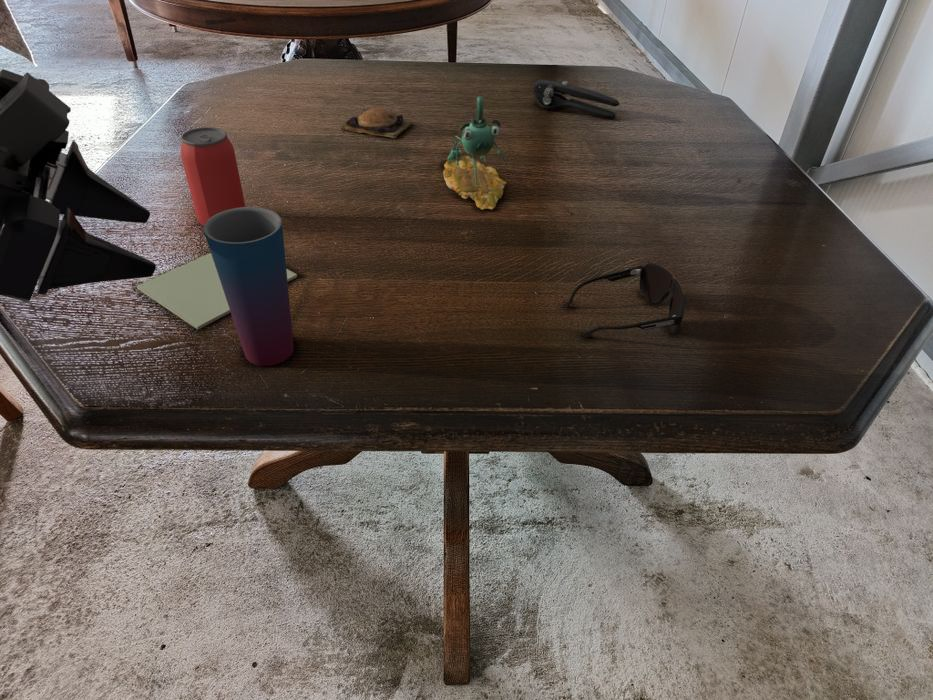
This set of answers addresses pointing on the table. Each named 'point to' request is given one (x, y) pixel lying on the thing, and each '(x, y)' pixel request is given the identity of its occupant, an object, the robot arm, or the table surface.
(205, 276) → the mat
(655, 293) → the sunglasses
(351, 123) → the bread roll
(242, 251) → the cup
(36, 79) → the robot arm
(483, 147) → the frog figurine
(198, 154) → the beer can
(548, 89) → the can opener
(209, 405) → the table surface
